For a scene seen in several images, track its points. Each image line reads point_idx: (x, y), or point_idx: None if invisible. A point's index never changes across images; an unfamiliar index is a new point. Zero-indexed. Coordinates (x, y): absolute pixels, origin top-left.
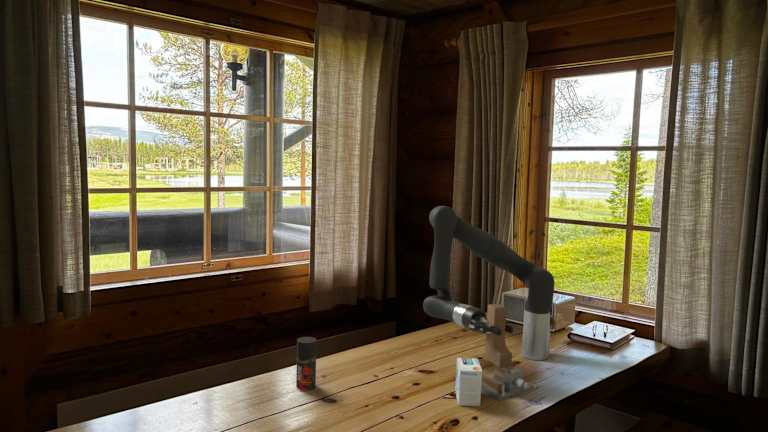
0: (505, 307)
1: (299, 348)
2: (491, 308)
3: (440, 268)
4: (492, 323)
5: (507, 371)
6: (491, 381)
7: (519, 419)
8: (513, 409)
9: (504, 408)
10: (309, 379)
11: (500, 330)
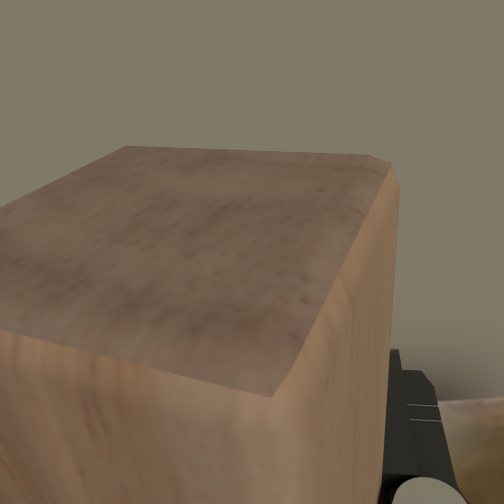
0: (146, 148)
1: None
2: (374, 271)
3: None
4: (378, 473)
5: None
6: None
7: (489, 399)
8: (455, 458)
9: (493, 487)
10: None
11: (395, 350)
